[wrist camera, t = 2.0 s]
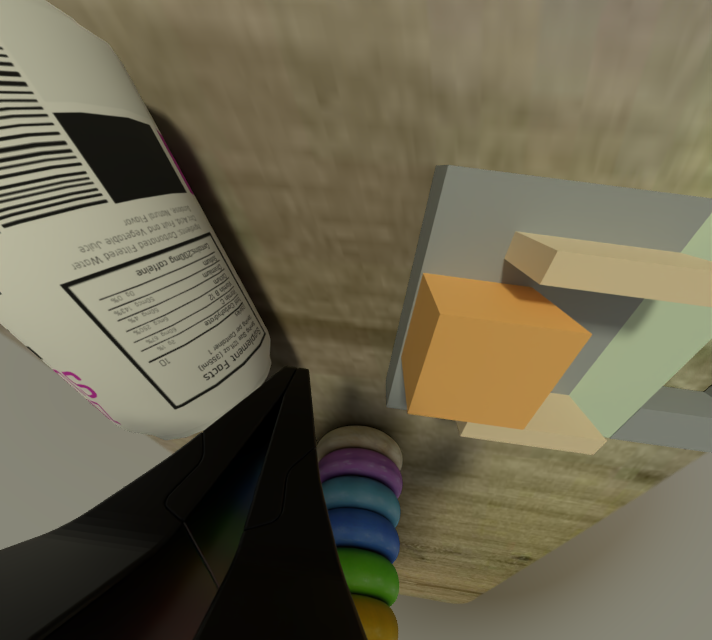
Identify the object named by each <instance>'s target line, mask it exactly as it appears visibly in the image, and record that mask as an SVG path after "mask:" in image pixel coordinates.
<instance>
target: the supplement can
mask: <svg viewBox="0 0 712 640" xmlns="http://www.w3.org/2000/svg"><path fill="white" fill-rule="evenodd" d="M0 324H1V325H3V326H4V327H5V328H6V329H7V330H8V331H9V332H10V333H12V334H13V335H14V336H15V337H16V338H17V339H18V340H20V341H21V342H22V343H23V344H24V345H25V346H26V347H28V348H29V349H30V350H31V351H32V352H33V353H34V354H36V355H37V356H38V357H39V358H40V359H41V360H42V361H44V362H45V363H46V364H47V365H48V366H49V367H50V368H51V369H53V370H54V371H55V372H56V373H57V374H58V375H59V376H61V377H62V378H63V379H64V380H65V381H66V382H67V383H69V384H70V385H71V386H72V387H73V388H74V389H75V390H77V391H78V392H79V393H80V394H81V395H82V396H83V397H85V398H86V399H87V400H88V401H89V402H90V403H91V404H93V405H94V406H95V407H96V408H97V409H98V410H99V411H101V412H102V413H103V414H104V415H105V416H106V417H107V418H108V419H110V420H111V421H112V422H113V423H114V424H115V425H116V426H118V427H120V428H123V429H125V430H127V431H129V432H134V433H141V434H148V435H154V436H156V437H159V438H161V439H164V440H170V439H178V438H186V437H188V436H191V435H193V434H195V433H198V432H200V431H203V430H205V429H206V428H207V427H209V426H210V425H211V424H213V423H214V422H215V421H216V420H218V419H219V418H220V417H221V416H223V415H224V414H225V413H227V412H228V411H229V410H230V409H232V408H233V407H234V406H236V405H237V404H238V403H239V402H241V401H242V400H243V399H244V398H246V397H247V396H248V395H250V394H251V393H252V392H253V391H255V390H256V389H257V388H258V387H260V386H261V385H262V383H263V382H264V381H265V379H266V378H267V376H268V373H269V370H270V367H271V364H272V363H271V359H270V341H271V339H270V336H269V333H268V330H267V328H266V326H265V325H264V323H263V321H262V319H261V317H260V315H259V313H258V312H257V310H256V308H255V306H254V304H253V302H252V301H251V299H250V297H249V295H248V293H247V291H246V290H245V288H244V286H243V284H242V282H241V280H240V278H239V277H238V275H237V273H236V271H235V269H234V267H233V266H232V264H231V262H230V260H229V258H228V256H227V255H226V253H225V251H224V249H223V247H222V245H221V243H220V242H219V240H218V238H217V236H216V234H215V232H214V231H213V229H212V227H211V225H210V223H209V221H208V219H207V218H206V216H205V214H204V212H203V210H202V208H201V207H200V205H199V203H198V201H197V199H196V197H195V196H194V194H193V192H192V190H191V188H190V186H189V184H188V183H187V181H186V179H185V177H184V175H183V173H182V172H181V170H180V168H179V166H178V164H177V162H176V160H175V159H174V157H173V155H172V153H171V151H170V149H169V148H168V146H167V144H166V142H165V140H164V138H163V137H162V135H161V133H160V131H159V129H158V127H157V125H156V124H155V122H154V120H153V118H152V116H151V114H150V113H149V111H148V109H147V107H146V105H145V103H144V101H143V100H142V98H141V96H140V94H139V92H138V90H137V89H136V87H135V85H134V83H133V81H132V79H131V78H130V76H129V74H128V72H127V70H126V68H125V66H124V65H123V63H122V62H121V60H120V59H119V58H118V56H117V55H116V53H115V52H114V50H113V49H112V48H111V46H110V45H109V44H108V43H107V42H105V41H104V40H102V39H101V38H99V37H98V36H96V35H94V34H93V33H91V32H90V31H88V30H87V29H85V28H84V27H82V26H81V25H79V24H78V23H77V22H76V21H75V19H73V18H72V17H70V16H69V15H67V14H65V13H64V12H62V11H61V10H59V9H58V8H56V7H55V6H53V5H52V4H50V3H49V2H47V1H46V0H0Z"/></svg>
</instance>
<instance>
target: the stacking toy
mask: <svg viewBox="0 0 712 640" xmlns="http://www.w3.org/2000/svg"><path fill="white" fill-rule="evenodd" d="M316 449H317V456H318V465H319V472H320V479H321V484H322V489H323V493H324V498H325V502H326V506H327V510H328V514H329V519H330V523H331V527H332V531H333V535H334V539H335V543H336V547H337V551H338V555H339V559H340V563H341V566H342V569H343V573H344V576H345V579H346V582H347V585H348V587H349V590H350V593H351V595H352V598H353V601H354V604H355V606H356V609H357V612H358V614H359V617H360V620H361V623H362V625H363V628H364V631H365V633H366V636H367V639H368V640H398V624H397V620H396V617H395V615H394V613H393V611H392V609H391V608H390V606H391V605H392V604H393V603H394V602H395V600H396V599H397V596H398V592H399V579H398V575H397V572H396V569H395V567H394V566H393V562H394V561H395V560H396V558H397V556H398V553H399V546H400V543H399V537H398V534H397V531H396V529H395V527H396V526H397V524H398V522H399V519H400V505H399V501H398V497H399V496H400V494H401V491H402V486H403V482H402V476H401V473H400V470H401V468H402V463H403V457H402V452H401V450H400V448H399V446H398V444H397V443H396V442H395V441H394V440H393V439H392V438H391V437H390V436H388V435H387V434H385V433H384V432H382V431H379V430H377V429H375V428H371V427H367V426H345V427H341V428H337V429H335V430H332V431H330V432H329V433H327V434H326V435H325V436H324V437H323V438H322V439H321V440H320V441H319V443H318V445H317V447H316Z"/></svg>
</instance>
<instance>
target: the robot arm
mask: <svg viewBox="0 0 712 640" xmlns="http://www.w3.org/2000/svg"><path fill="white" fill-rule="evenodd" d="M0 640H368V639H367V636H366V633H365V631H364V628H363V625H362V623H361V620H360V617H359V614H358V612H357V609H356V606H355V604H354V601H353V598H352V595H351V593H350V590H349V587H348V585H347V582H346V579H345V576H344V573H343V569H342V566H341V563H340V559H339V555H338V551H337V547H336V543H335V539H334V535H333V531H332V527H331V523H330V519H329V514H328V510H327V506H326V502H325V498H324V493H323V489H322V484H321V479H320V472H319V465H318V456H317V449H316V437H315V427H314V417H313V407H312V396H311V386H310V376H309V370H308V369H304V368H298V369H297V368H296V367H290V366H286V367H284V368H283V369H281V370H280V371H279V372H278V373H276V374H275V375H274V376H273V377H271V378H270V379H269V380H267V381H266V382H265V383H264V384H262V385H261V386H260V387H258V388H257V389H256V390H255V391H253V392H252V393H251V394H250V395H248V396H247V397H246V398H244V399H243V400H242V401H241V402H239V403H238V404H237V405H236V406H234V407H233V408H232V409H230V410H229V411H228V412H227V413H225V414H224V415H223V416H221V417H220V418H219V419H218V420H216V421H215V422H214V423H213V424H211V425H210V426H209V427H207V428H206V429H205V430H204V431H203V433H200V434H198V435H197V436H196V437H195V438H193V439H192V440H191V441H189V442H188V443H187V444H185V445H184V446H183V447H181V448H180V449H179V450H177V451H176V452H175V453H173V454H172V455H171V456H169V457H168V458H167V459H165V460H164V461H162V462H161V463H159V464H158V465H156V466H155V467H153V468H152V469H151V470H149V471H148V472H146V473H145V474H143V475H142V476H140V477H139V478H137V479H136V480H134V481H133V482H132V483H130V484H128V485H127V486H125V487H124V488H122V489H121V490H119V491H118V492H116V493H115V494H113V495H112V496H110V497H109V498H107V499H106V500H104V501H103V502H101V503H100V504H98V505H97V506H95V507H94V508H93V509H91V510H89V511H88V512H86V513H84V514H83V515H81V516H80V517H78V518H76V519H74V520H73V521H71V522H69V523H67V524H65V525H63V526H61V527H59V528H57V529H55V530H53V531H50V532H48V533H46V534H43V535H41V536H38V537H35V538H32V539H30V540H27V541H24V542H21V543H18V544H16V545H13V546H10V547H8V548H5V549H2V550H0Z"/></svg>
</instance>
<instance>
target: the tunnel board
mask: <svg viewBox="0 0 712 640" xmlns="http://www.w3.org/2000/svg"><path fill="white" fill-rule="evenodd" d="M423 273H429V274H436V275H444V276H451V277H459V278H466V279H474V280H481V281H489V282H497V283H504V284H512V285H519V286H527V287H532V288H534V289H535V290H536V291H537V292H539V293H540V294H541V295H543V296H544V297H545V298H546V299H548V300H549V301H550V302H552V303H553V304H554V305H555V306H557V307H558V308H559V309H561V310H562V311H563V312H564V313H566V314H567V315H568V316H570V317H571V318H572V319H573V320H575V321H576V322H577V323H579V324H580V325H581V326H582V327H584V328H585V329H586V330H588V331H589V332H590V333H591V334H592V336H591V337H590V339H589V340H588V341H587V343H586V344H585V345H584V347H583V348H582V350H581V351H580V352H579V354H578V355H577V357H576V358H575V359H574V361H573V362H572V363H571V365H570V366H569V368H568V369H567V370H566V372H565V373H564V374H563V376H562V377H561V379H560V380H559V381H558V383H557V384H556V386H555V387H554V388H553V390H552V391H551V392H550V394H549V395H548V397H547V398H546V399H545V401H544V402H543V404H542V405H541V406H540V408H539V409H538V410H537V412H536V413H535V415H534V416H533V417H532V419H531V420H530V421H529V423H528V424H527V426H526V427H525V428H524V430H521V429H513V428H506V427H499V426H492V425H485V424H478V423H471V422H463V421H456V420H455V421H456V424H457V427H458V431H459V434H460V436H463V437H470V438H477V439H484V440H491V441H498V442H505V443H512V444H519V445H527V446H534V447H541V448H548V449H555V450H562V451H569V452H576V453H583V454H591V455H593V454H594V453H595V452H596V451H597V450H598V449H599V448H601V447H602V446H603V445H604V444H605V443H606V442H607V440H606V439H605V438H604V437H608V438H610V439H618V440H625V441H632V442H639V443H646V444H653V445H661V446H668V447H675V448H682V449H689V450H696V451H703V452H711V453H712V386H710V387H709V388H708V389H707V390H706V391H705V392H700V391H693V390H686V389H679V388H671V387H664V386H663V385H664V384H665V383H666V382H667V381H668V380H669V379H670V378H671V377H673V376H674V375H675V374H676V373H677V372H678V371H679V370H680V369H681V368H682V367H683V366H684V365H685V364H686V363H687V362H688V361H689V360H690V359H691V358H692V357H693V356H694V355H695V354H696V353H697V352H698V351H699V350H700V349H701V348H702V347H703V346H705V345H706V344H707V343H708V342H709V341H710V340H711V339H712V198H704V197H696V196H688V195H680V194H672V193H665V192H657V191H649V190H641V189H633V188H625V187H617V186H609V185H602V184H594V183H586V182H578V181H570V180H562V179H554V178H546V177H539V176H531V175H523V174H515V173H507V172H499V171H491V170H484V169H476V168H468V167H460V166H452V165H440V166H436V168H435V172H434V177H433V181H432V185H431V189H430V194H429V198H428V202H427V207H426V211H425V215H424V219H423V224H422V228H421V232H420V236H419V241H418V245H417V249H416V254H415V258H414V262H413V266H412V271H411V275H410V279H409V284H408V288H407V292H406V296H405V301H404V305H403V309H402V313H401V318H400V322H399V326H398V331H397V335H396V339H395V343H394V348H393V352H392V356H391V361H390V365H389V369H388V373H387V378H386V405H387V407H389V408H396V409H403V410H407V404H406V395H405V387H404V378H403V369H402V360H401V356H402V352H403V348H404V344H405V340H406V336H407V332H408V329H409V325H410V321H411V317H412V313H413V309H414V305H415V302H416V298H417V294H418V290H419V286H420V282H421V279H422V275H423Z"/></svg>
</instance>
